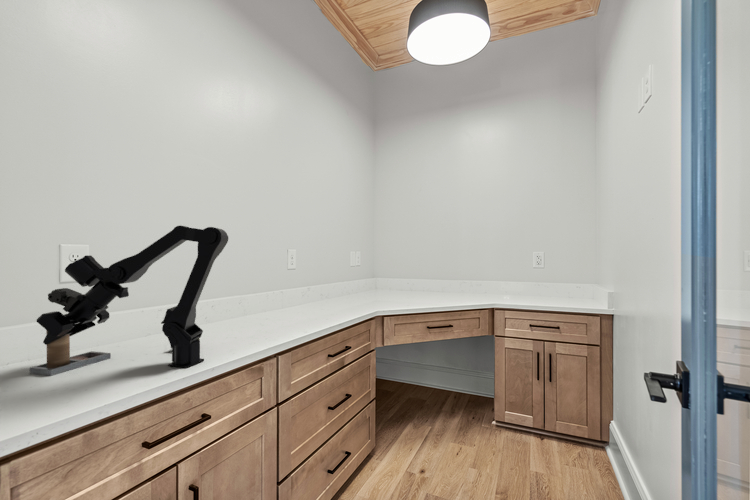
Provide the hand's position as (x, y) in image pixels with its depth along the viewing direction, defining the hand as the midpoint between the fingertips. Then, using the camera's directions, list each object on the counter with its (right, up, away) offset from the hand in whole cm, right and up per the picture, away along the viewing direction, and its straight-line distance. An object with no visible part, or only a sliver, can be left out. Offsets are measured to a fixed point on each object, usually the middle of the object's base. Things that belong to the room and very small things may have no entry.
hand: (52, 341), depth 91 cm
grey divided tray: (+2, -8, +3) cm, 9 cm away
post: (+1, -7, 0) cm, 7 cm away
